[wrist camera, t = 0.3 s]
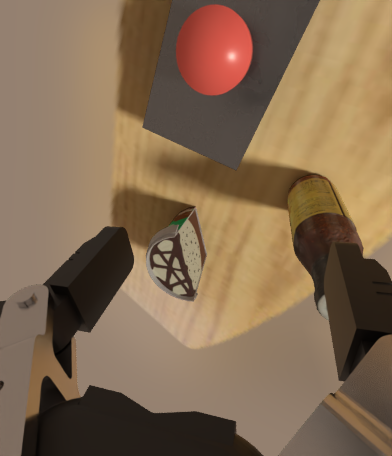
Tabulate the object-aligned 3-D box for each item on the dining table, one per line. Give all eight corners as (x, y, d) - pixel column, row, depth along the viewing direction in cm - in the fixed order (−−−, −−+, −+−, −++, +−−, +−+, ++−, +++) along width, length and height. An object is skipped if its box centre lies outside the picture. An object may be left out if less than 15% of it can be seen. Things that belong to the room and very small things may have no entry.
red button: (209, 3, 25) (190, -10, 20) (268, 30, 25) (265, 24, 20) (188, 72, 29) (167, 78, 23) (240, 96, 29) (231, 107, 23)
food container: (157, 201, 44) (130, 235, 36) (193, 197, 42) (173, 233, 34) (176, 261, 50) (156, 302, 42) (208, 261, 48) (194, 304, 40)
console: (217, -96, 25) (203, -132, 20) (337, -42, 25) (351, -65, 20) (160, 117, 37) (142, 127, 32) (241, 154, 37) (236, 170, 32)
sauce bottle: (277, 199, 39) (277, 306, 23) (307, 163, 35) (332, 259, 19) (316, 222, 39) (343, 343, 23) (349, 189, 36) (410, 304, 19)
